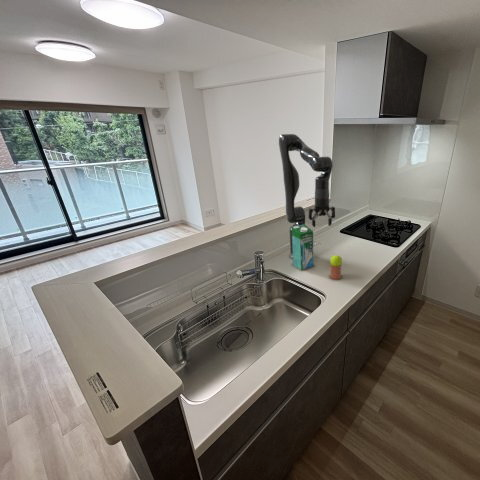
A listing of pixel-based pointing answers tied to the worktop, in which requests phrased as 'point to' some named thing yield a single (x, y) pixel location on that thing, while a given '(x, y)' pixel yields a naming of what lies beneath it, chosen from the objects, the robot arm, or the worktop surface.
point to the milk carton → (302, 246)
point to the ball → (335, 260)
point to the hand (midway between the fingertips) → (321, 226)
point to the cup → (335, 272)
